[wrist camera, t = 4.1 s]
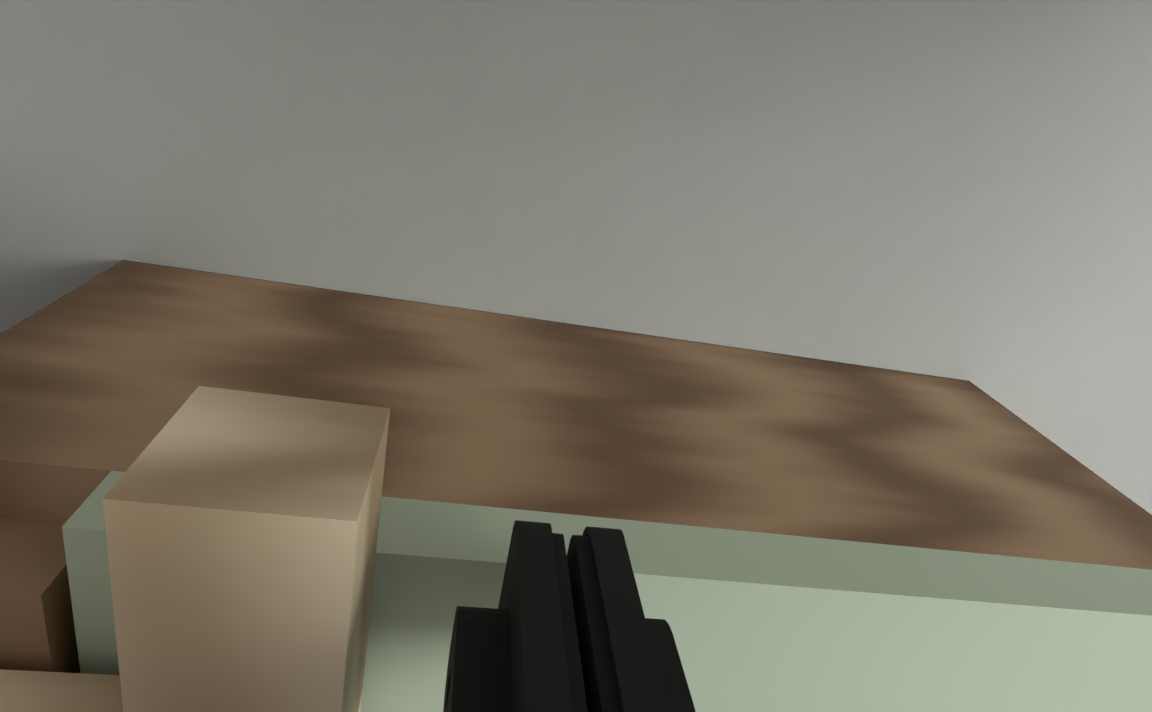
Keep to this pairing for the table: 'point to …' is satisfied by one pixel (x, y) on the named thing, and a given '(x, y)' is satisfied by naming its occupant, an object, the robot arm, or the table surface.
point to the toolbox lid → (743, 615)
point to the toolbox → (523, 428)
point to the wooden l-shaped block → (237, 563)
